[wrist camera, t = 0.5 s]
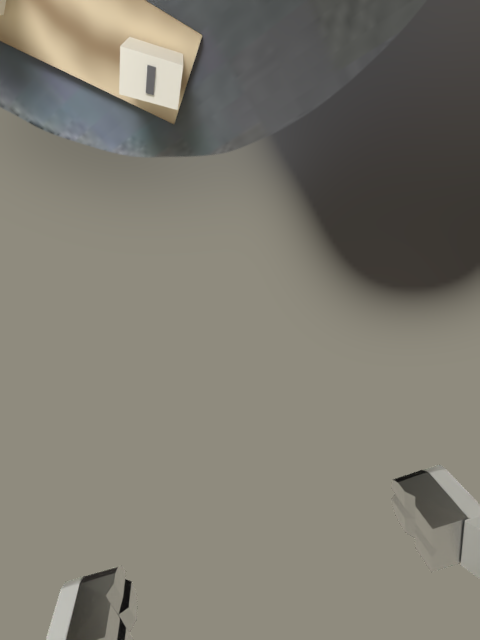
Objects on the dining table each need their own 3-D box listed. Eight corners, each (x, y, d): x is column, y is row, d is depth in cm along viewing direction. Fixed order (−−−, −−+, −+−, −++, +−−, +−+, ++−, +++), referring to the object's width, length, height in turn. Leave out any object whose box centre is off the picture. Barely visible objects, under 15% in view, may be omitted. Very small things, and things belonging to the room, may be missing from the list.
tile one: (129, 36, 38) (119, 46, 32) (183, 53, 39) (183, 65, 33) (127, 81, 40) (118, 97, 35) (178, 95, 42) (177, 113, 36)
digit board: (-79, -137, 29) (-86, -140, 28) (201, 34, 39) (202, 35, 38) (-67, 5, 35) (-72, 6, 34) (174, 122, 45) (174, 124, 44)
